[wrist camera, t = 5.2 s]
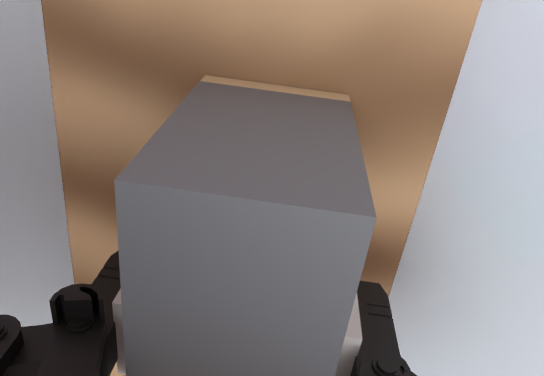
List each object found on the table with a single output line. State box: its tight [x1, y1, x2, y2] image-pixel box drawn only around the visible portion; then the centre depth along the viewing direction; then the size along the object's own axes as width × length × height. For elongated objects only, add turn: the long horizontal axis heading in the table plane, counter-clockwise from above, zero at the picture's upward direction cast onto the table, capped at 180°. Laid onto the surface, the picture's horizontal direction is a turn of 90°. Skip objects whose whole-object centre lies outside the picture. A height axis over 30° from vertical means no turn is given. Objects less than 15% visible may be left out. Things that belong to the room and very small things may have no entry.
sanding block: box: [114, 75, 377, 376], centre depth 15 cm, size 11×5×8 cm, turn 173°
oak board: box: [41, 0, 482, 376], centre depth 19 cm, size 24×14×1 cm, turn 173°
